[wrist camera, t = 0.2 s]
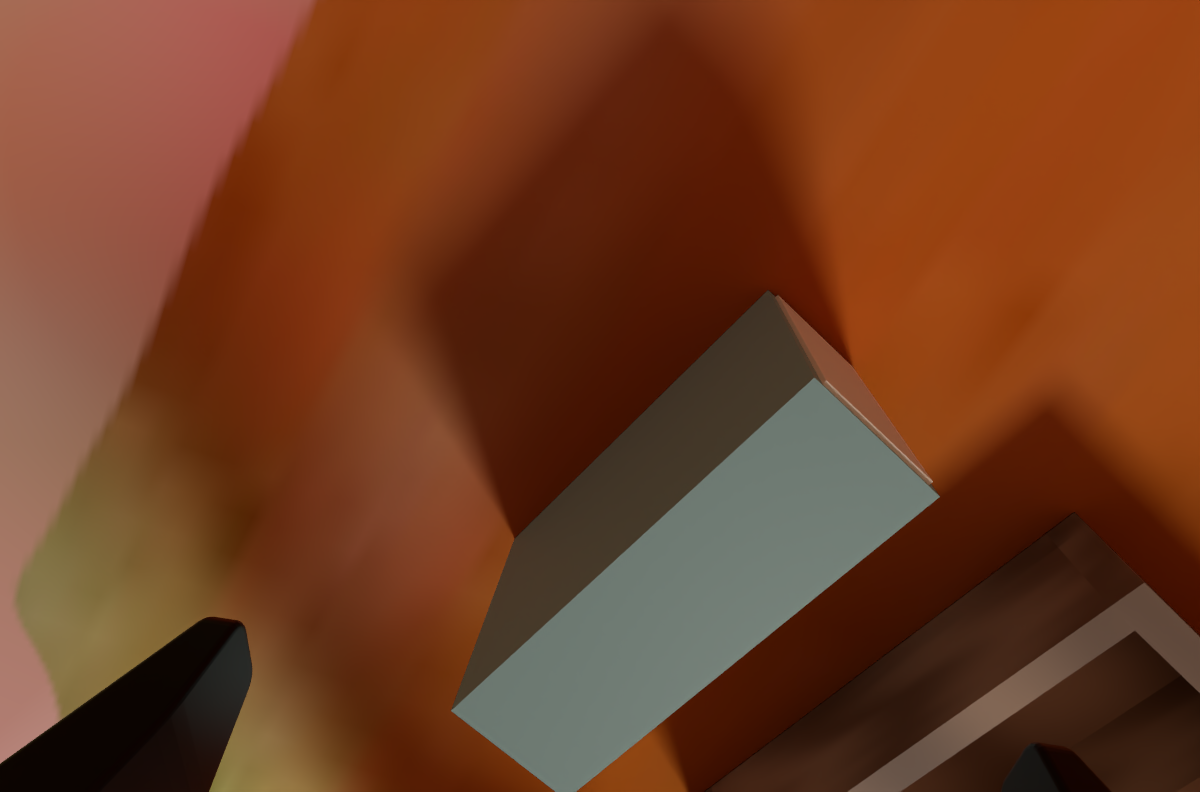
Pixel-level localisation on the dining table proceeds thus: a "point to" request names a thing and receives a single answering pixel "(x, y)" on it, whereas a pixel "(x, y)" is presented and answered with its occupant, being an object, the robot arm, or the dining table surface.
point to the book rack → (1011, 688)
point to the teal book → (686, 546)
